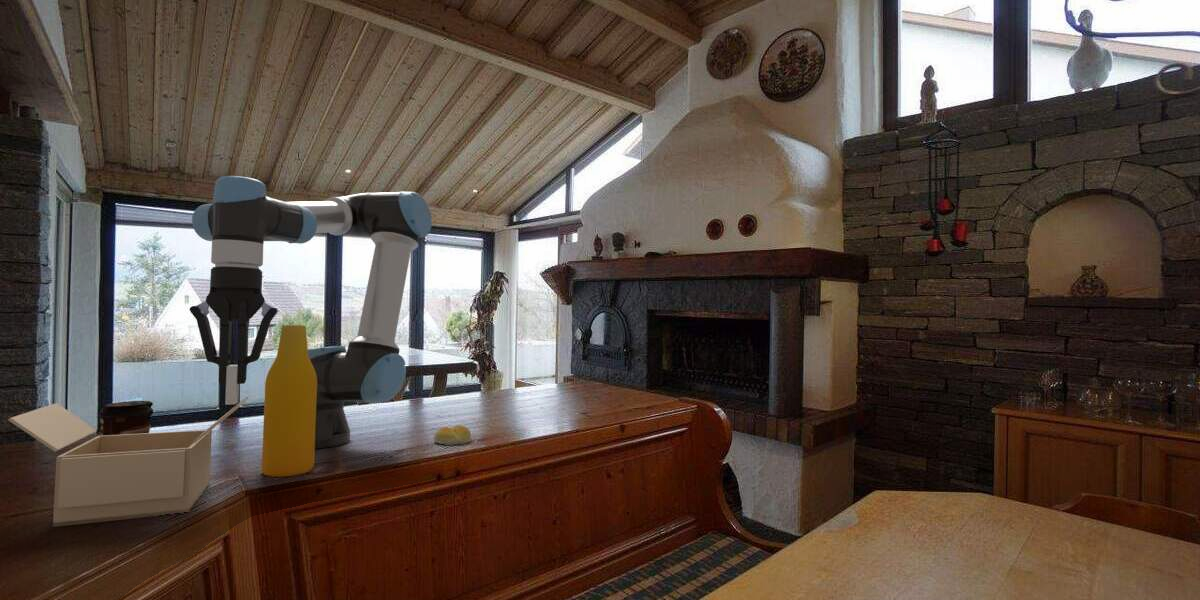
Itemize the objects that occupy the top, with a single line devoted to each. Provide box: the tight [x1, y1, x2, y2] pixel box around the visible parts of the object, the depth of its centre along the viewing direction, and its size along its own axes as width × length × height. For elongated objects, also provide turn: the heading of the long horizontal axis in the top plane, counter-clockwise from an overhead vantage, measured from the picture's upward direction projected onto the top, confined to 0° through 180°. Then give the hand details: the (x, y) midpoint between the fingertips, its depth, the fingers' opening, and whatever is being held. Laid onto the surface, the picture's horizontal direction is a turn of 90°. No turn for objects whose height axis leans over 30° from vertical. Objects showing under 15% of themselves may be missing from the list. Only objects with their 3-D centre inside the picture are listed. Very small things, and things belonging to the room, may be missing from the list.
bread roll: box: [433, 424, 473, 446], centre depth 139 cm, size 8×9×4 cm
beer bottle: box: [261, 324, 317, 478], centre depth 110 cm, size 9×9×29 cm
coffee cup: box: [97, 400, 154, 436], centre depth 109 cm, size 9×8×13 cm
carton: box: [52, 429, 213, 528], centre depth 90 cm, size 16×16×10 cm
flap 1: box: [8, 402, 97, 453], centre depth 85 cm, size 7×14×1 cm
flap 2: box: [193, 396, 250, 443], centre depth 95 cm, size 7×14×1 cm
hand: (231, 403), depth 95 cm, fingers closed
